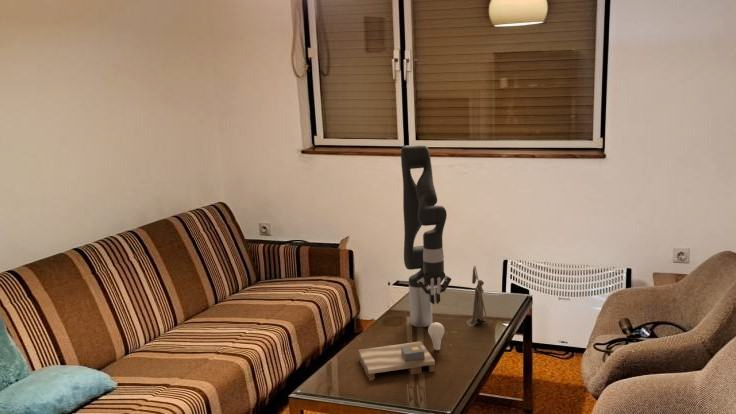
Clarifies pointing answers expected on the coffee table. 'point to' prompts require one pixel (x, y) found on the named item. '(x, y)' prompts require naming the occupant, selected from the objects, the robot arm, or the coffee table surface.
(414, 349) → the grey box
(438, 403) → the coffee table surface
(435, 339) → the lightbulb
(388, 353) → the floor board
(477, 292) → the wizard figurine
